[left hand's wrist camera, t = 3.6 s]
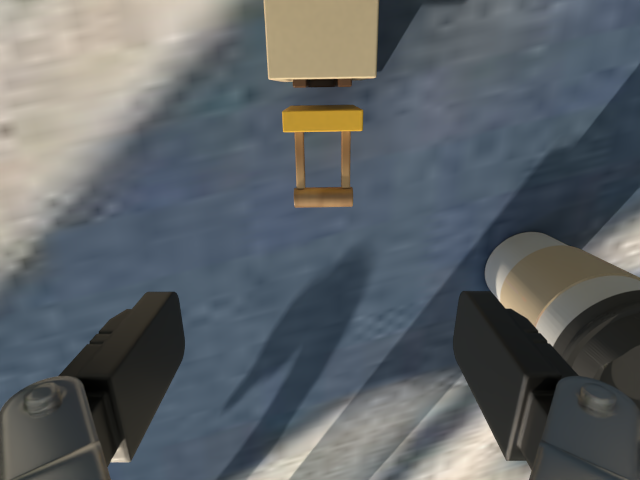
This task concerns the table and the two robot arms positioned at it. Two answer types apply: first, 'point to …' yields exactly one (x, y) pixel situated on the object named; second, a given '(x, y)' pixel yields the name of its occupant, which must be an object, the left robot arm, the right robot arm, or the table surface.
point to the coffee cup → (573, 305)
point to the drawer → (316, 121)
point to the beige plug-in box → (321, 39)
